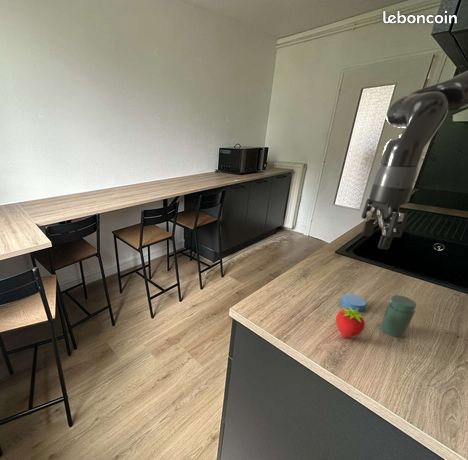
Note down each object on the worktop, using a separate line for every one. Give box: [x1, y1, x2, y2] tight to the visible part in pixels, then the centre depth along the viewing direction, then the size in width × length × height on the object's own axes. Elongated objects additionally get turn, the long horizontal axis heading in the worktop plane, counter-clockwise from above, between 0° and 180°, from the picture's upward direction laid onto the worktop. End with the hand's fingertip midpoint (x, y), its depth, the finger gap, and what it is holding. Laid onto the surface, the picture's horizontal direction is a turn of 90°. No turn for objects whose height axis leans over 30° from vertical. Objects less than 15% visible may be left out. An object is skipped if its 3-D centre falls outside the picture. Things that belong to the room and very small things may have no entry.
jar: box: [379, 294, 417, 339], centre depth 66 cm, size 5×5×10 cm
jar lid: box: [340, 293, 367, 313], centre depth 77 cm, size 6×6×2 cm
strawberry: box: [335, 307, 367, 339], centre depth 65 cm, size 6×8×10 cm
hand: (374, 241), depth 69 cm, fingers open, 8 cm apart
